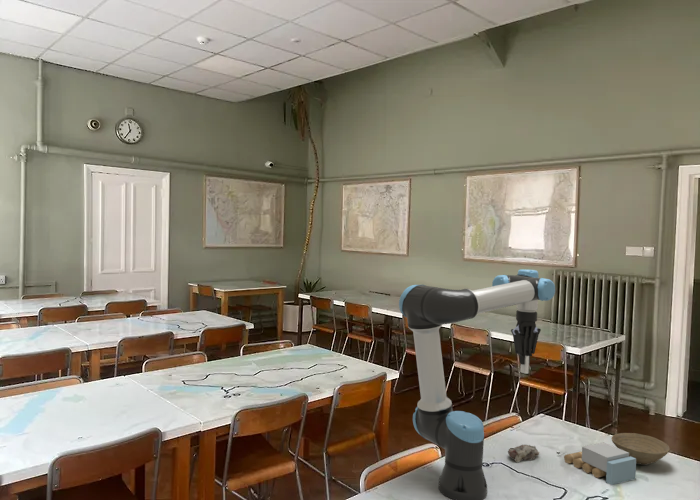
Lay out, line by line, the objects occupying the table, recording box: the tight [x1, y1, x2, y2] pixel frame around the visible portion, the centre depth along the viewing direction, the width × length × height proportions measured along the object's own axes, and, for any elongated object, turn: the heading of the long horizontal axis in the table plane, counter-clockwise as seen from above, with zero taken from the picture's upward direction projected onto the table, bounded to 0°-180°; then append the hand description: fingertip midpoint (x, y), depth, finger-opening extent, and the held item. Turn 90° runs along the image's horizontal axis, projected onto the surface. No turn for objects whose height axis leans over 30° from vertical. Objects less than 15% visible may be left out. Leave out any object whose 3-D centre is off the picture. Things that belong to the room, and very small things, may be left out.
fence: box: [605, 456, 637, 486], centre depth 173 cm, size 12×2×7 cm, turn 115°
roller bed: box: [563, 451, 606, 478], centre depth 183 cm, size 12×15×3 cm
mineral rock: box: [507, 444, 540, 463], centre depth 190 cm, size 15×8×4 cm, turn 109°
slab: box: [581, 441, 629, 472], centre depth 179 cm, size 11×10×5 cm
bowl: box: [611, 432, 671, 466], centre depth 188 cm, size 18×18×8 cm
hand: (524, 372), depth 194 cm, fingers closed
